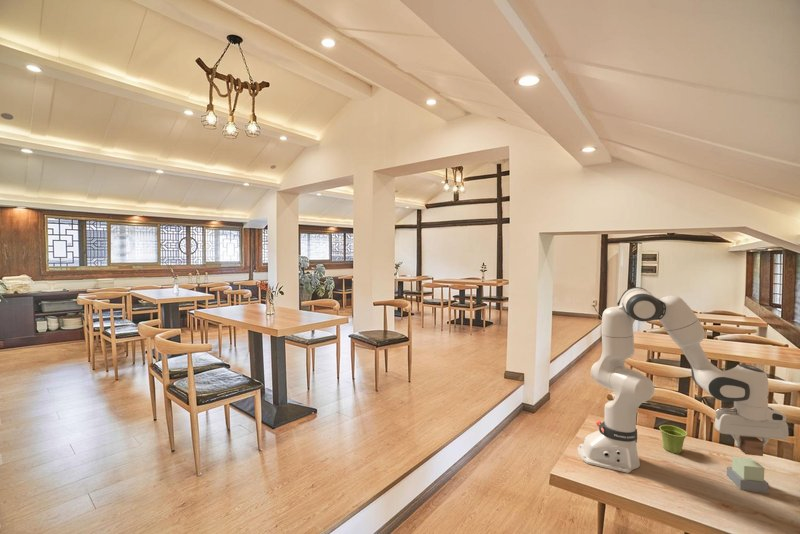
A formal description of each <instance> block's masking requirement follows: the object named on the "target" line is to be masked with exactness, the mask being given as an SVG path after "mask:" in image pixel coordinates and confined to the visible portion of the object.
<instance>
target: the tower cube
mask: <svg viewBox="0 0 800 534" xmlns="http://www.w3.org/2000/svg"><path fill="white" fill-rule="evenodd" d="M731 459H732V462H731V463H732V464H731V467H732V470H734V471H735V472H736V473H737V474H738V475H739V476H740V477H742V478H743V479H744V480H753V481H763V482H764V480H765V467H764V466H763V465H761V464H760V463H759V462H757V461H756V460H755V459H754V458H751V457H743V456H735V455H734V456H733V455H732V458H731Z"/></svg>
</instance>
